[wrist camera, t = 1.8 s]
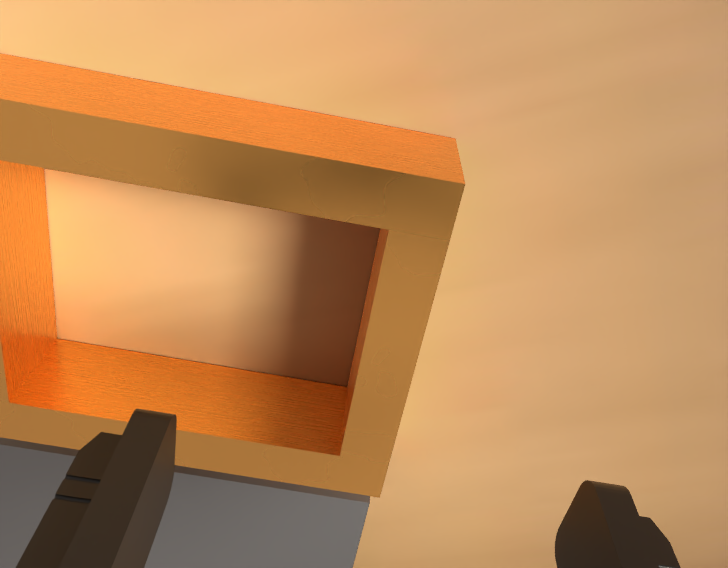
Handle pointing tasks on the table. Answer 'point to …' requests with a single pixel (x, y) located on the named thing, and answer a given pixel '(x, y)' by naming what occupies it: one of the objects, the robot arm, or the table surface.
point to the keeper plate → (197, 515)
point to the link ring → (236, 184)
